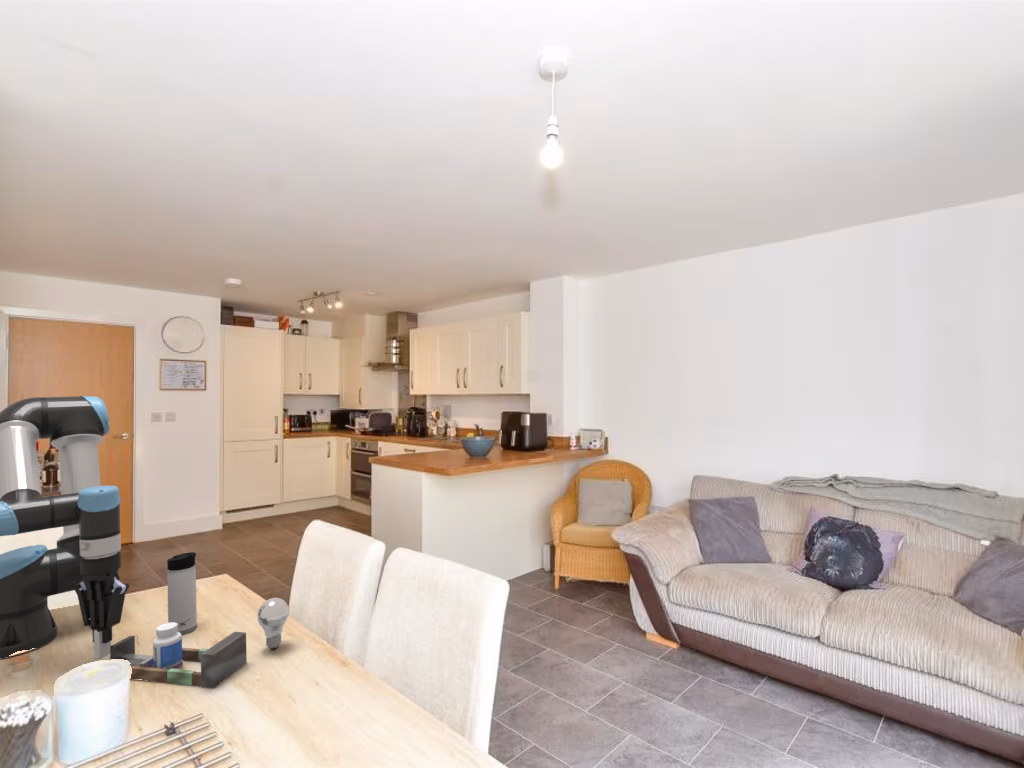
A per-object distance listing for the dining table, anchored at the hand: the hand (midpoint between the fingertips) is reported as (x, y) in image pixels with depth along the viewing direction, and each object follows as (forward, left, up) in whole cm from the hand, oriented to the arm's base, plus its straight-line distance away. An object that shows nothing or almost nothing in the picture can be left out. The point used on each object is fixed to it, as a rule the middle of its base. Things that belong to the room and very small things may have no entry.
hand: (102, 656), depth 120 cm
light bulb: (+36, +12, -2) cm, 38 cm away
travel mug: (+6, +17, -2) cm, 18 cm away
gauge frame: (+22, 0, -2) cm, 22 cm away
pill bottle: (+18, 0, -2) cm, 18 cm away
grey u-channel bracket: (+9, 0, -1) cm, 10 cm away
